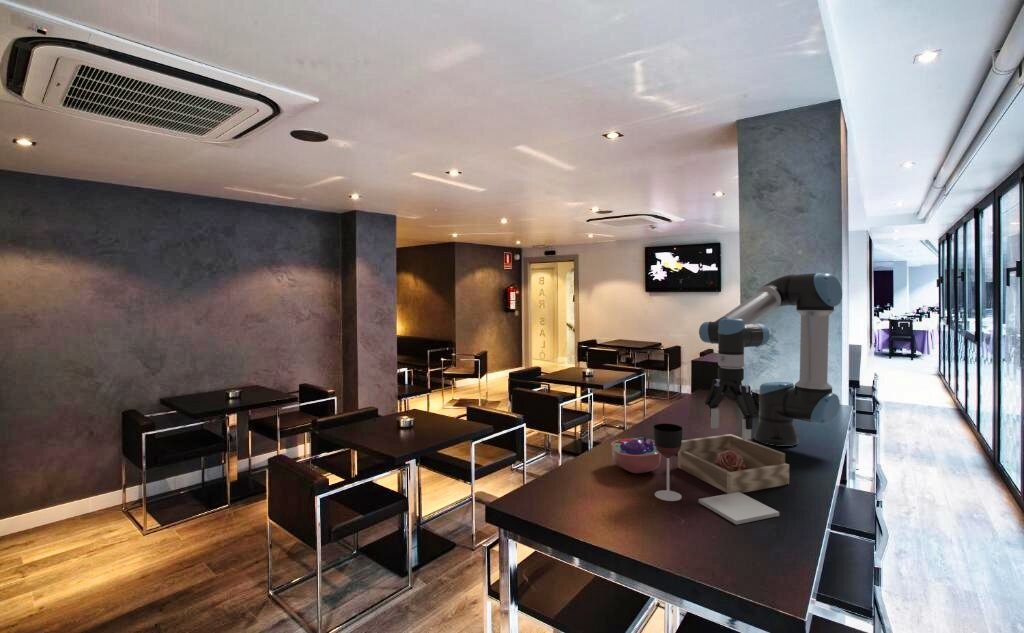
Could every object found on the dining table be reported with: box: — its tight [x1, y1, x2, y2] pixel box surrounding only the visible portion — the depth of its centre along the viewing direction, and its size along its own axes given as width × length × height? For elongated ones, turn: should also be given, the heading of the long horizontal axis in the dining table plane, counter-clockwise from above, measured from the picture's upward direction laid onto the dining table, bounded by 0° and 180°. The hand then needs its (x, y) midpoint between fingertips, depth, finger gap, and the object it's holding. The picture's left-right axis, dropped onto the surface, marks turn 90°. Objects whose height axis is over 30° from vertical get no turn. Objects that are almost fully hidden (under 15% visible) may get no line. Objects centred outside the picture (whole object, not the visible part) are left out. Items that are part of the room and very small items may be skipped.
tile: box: [698, 492, 780, 525], centre depth 131 cm, size 14×14×1 cm
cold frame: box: [677, 433, 790, 494], centre depth 155 cm, size 22×24×9 cm
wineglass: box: [653, 423, 683, 502], centre depth 141 cm, size 8×9×20 cm
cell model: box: [610, 437, 663, 474], centre depth 162 cm, size 17×20×11 cm
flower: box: [716, 449, 746, 472], centre depth 156 cm, size 9×9×7 cm
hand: (730, 433), depth 155 cm, fingers open, 13 cm apart
